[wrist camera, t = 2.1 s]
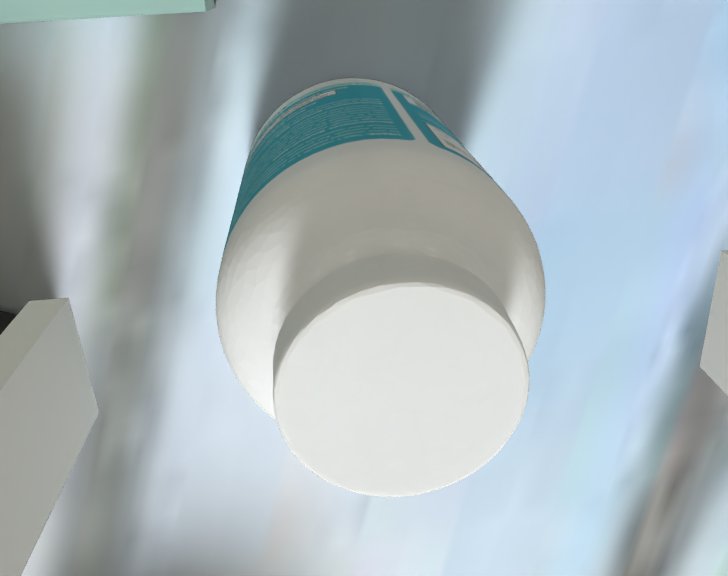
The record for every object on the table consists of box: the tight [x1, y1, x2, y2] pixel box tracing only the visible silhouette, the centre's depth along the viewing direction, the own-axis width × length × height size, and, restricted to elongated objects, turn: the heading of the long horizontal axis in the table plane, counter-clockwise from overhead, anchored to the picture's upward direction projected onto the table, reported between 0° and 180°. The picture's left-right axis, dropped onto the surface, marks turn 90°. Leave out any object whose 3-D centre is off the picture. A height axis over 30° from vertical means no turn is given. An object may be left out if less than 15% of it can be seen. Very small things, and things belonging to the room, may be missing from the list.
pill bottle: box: [216, 78, 545, 497], centre depth 18 cm, size 8×7×14 cm
